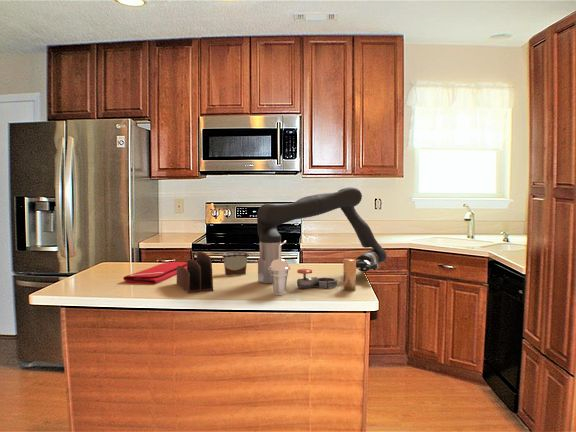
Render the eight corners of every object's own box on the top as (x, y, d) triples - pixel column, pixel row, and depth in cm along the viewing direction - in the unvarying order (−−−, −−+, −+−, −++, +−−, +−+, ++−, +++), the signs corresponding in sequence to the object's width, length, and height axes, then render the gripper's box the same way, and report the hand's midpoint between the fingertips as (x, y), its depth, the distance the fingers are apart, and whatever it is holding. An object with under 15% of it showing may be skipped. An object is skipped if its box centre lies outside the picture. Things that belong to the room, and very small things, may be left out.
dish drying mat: (193, 268, 249) (193, 260, 249) (156, 285, 209) (156, 276, 209) (163, 266, 252) (163, 259, 252) (122, 284, 212) (122, 275, 212)
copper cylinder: (347, 291, 196) (347, 261, 196) (340, 288, 201) (341, 259, 200) (358, 290, 199) (358, 260, 198) (351, 287, 203) (351, 258, 202)
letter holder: (199, 281, 215) (198, 249, 214) (213, 291, 197) (213, 256, 196) (176, 284, 211) (175, 251, 209) (188, 294, 193) (187, 257, 192)
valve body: (303, 291, 197) (303, 272, 196) (292, 286, 205) (293, 269, 204) (340, 286, 204) (341, 269, 204) (329, 282, 213) (329, 265, 212)
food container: (245, 271, 237) (245, 250, 236) (248, 274, 231) (248, 252, 230) (219, 273, 233) (219, 252, 232) (222, 275, 227) (222, 254, 226)
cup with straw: (264, 293, 194) (263, 241, 192) (283, 290, 199) (283, 240, 197) (276, 297, 187) (276, 244, 185) (295, 294, 192) (295, 242, 190)
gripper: (351, 252, 226) (340, 257, 211) (382, 254, 220) (373, 260, 205) (350, 269, 226) (340, 275, 212) (381, 271, 221) (373, 278, 206)
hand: (356, 267), depth 209 cm, fingers open, 8 cm apart
